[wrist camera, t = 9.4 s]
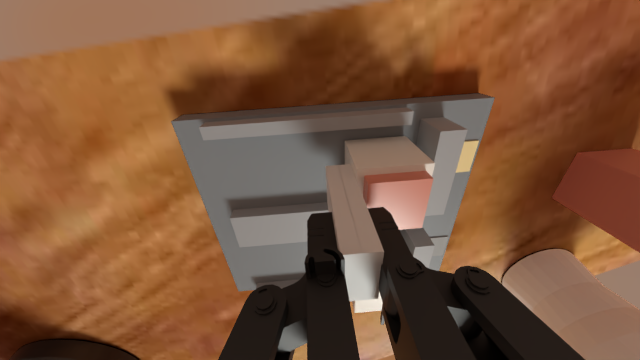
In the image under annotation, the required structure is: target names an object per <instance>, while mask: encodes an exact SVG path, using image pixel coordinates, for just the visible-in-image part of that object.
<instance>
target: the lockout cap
mask: <svg viewBox="0 0 640 360" xmlns="http://www.w3.org/2000/svg"><path fill="white" fill-rule="evenodd" d="M552 199H554V200H556V201H557V202H559V203H561V204H562V205H564V206H565V207H567V208H569V209H570V210H572V211H573V212H575V213H577V214H578V215H580V216H581V217H583V218H585V219H586V220H588V221H590V222H591V223H593V224H594V225H596V226H598V227H599V228H601V229H602V230H604V231H606V232H607V233H609V234H611V235H612V236H614V237H615V238H617V239H619V240H620V241H622V242H623V243H625V244H627V245H628V246H630V247H631V248H633V249H635V250H636V251H638V252H640V151H638V150H635V149H632V148H629V149H616V150H603V151H591V152H578V153H577V154H576V156H575V158H574V159H573V161H572V163H571V165H570V166H569V168H568V170H567V172H566V173H565V175H564V177H563V179H562V180H561V182H560V184H559V186H558V187H557V189H556V191H555V193H554V194H553V196H552Z"/></svg>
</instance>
